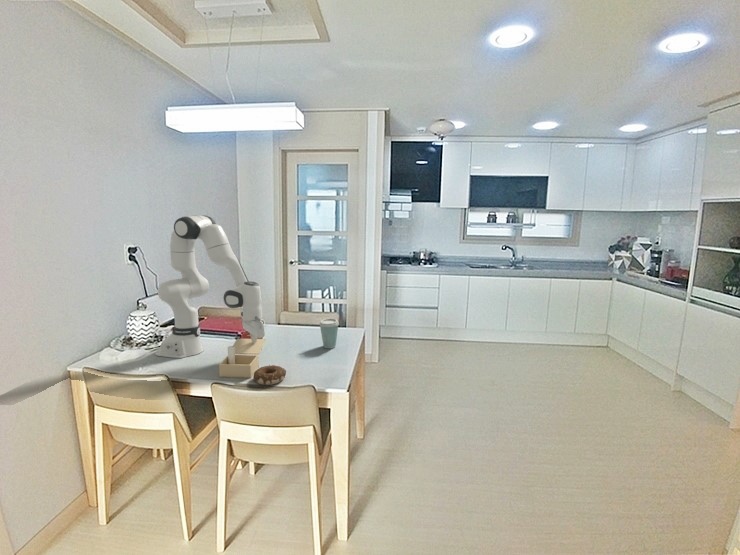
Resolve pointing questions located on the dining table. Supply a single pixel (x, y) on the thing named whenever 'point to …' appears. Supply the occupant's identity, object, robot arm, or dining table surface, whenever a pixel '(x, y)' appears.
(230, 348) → the box
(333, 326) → the disposable coffee cup
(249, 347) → the lid
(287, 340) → the dining table surface
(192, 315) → the robot arm
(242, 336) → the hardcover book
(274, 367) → the donut
